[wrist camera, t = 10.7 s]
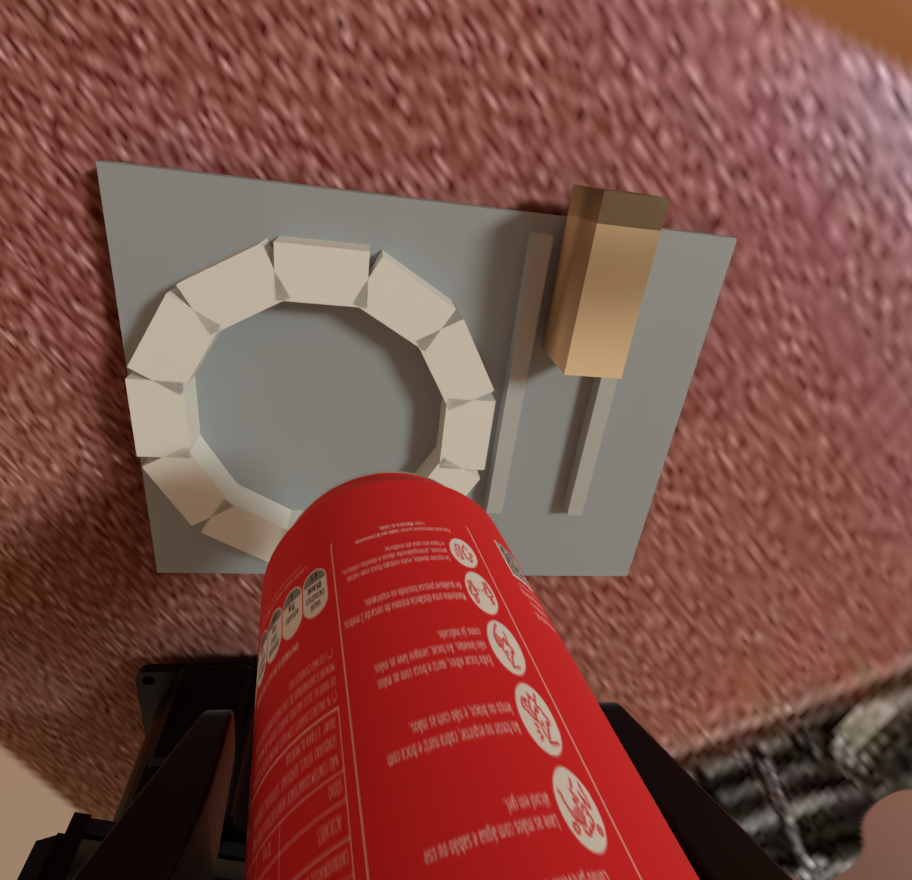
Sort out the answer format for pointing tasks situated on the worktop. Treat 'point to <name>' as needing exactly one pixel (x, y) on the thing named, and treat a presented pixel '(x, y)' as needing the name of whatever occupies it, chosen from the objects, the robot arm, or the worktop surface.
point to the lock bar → (601, 279)
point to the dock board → (382, 365)
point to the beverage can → (429, 709)
